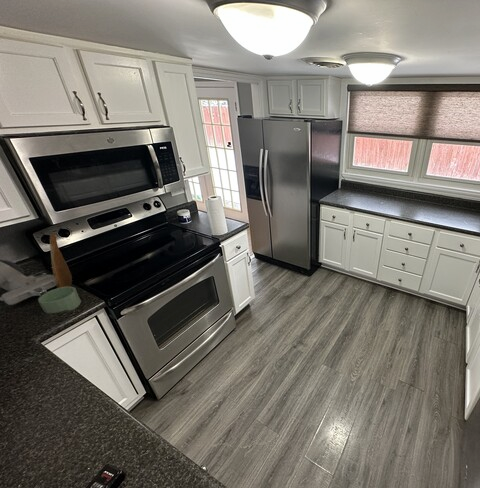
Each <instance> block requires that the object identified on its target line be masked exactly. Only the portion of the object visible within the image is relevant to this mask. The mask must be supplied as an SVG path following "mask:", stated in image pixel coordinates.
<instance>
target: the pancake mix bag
mask: <svg viewBox="0 0 480 488" xmlns="http://www.w3.org/2000/svg"><path fill="white" fill-rule="evenodd" d="M49 248H50V260H51V261H50V262H51V268H52V269H51V270H52V275H54V277H56V278H57V280H58V283H59V285H57V286H56V289H57V288H60V287H72V284H73V280H72V278H73V276H72V275H73V274H72V272H71V271H70V269H69V266H68V264H67V262H66V260H65V258H64V256H63V254H62V251H61V250H60V248H59V245H58V241H57V238H56V235H55V234H54V232H52V231H50V233H49Z"/></svg>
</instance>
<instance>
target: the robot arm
mask: <svg viewBox="0 0 480 488" xmlns="http://www.w3.org/2000/svg"><path fill="white" fill-rule="evenodd" d="M57 285H59V283H58V280H57V278H56V277H54V275H53V274H47V273H46V272H43V273H38V274H33V275H29V276H26V275H25V271H24V269H23V268H22V267H21V266H20V265H19V264H16V263H15V262H13V261H10V260H6V259H0V287H1V288H2V289H4V290H5V291H7V292H4V293H2V295H0V301H1V302H4V303H5V304H6V305H8V306H13V305H16V304H18V303H20V302H22V301H25V300H27V299H29V298H32V297H36V296H38V297H40V296H42V295H43V294H45V293H46V292H48V291H49V289H50V290H51V289H53V288H54V287H57ZM47 290H48V291H47Z"/></svg>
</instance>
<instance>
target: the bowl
mask: <svg viewBox="0 0 480 488" xmlns="http://www.w3.org/2000/svg"><path fill="white" fill-rule="evenodd" d="M80 298H81V297H80V295H79V293H78V291H77V289H76V287H74V286H71V287H60V288H57V287H56V288H54V289H53V288H52V289H50V290H48V291H47V292H46V293H45V294H43V295H41V296H39V297H38V298H37V301H38V303H39V305H40V307H41V308H42V310H43V312H44V313H46V314H56V313H61V312H64V311H74V310H75V309H77V308H78V307H79V306H80V305H81V303H82V300H81V299H80Z"/></svg>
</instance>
